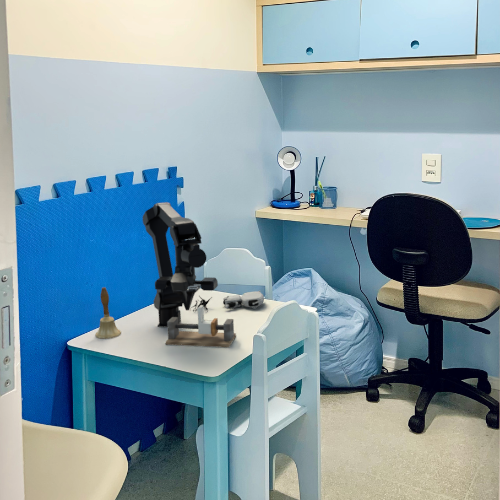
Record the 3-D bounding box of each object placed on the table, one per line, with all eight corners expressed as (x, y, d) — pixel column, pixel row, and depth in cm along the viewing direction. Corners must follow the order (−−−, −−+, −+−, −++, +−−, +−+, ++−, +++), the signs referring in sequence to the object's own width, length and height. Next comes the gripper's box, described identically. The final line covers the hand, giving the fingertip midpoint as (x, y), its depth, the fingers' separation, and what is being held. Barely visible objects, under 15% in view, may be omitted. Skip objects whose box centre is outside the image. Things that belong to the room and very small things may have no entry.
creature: (203, 318, 229) (216, 307, 235) (200, 304, 227) (213, 294, 233) (186, 314, 233) (199, 304, 239) (183, 301, 231) (196, 291, 237)
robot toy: (224, 315, 231) (266, 309, 232) (223, 302, 230) (264, 297, 231) (223, 305, 243) (262, 300, 244) (222, 293, 242) (261, 288, 243)
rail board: (165, 344, 200) (164, 324, 199) (175, 333, 210) (174, 314, 208) (228, 347, 196) (227, 326, 195) (235, 336, 206) (235, 316, 204)
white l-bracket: (198, 333, 201) (197, 308, 199) (201, 329, 204) (200, 305, 203) (211, 334, 200) (209, 308, 198) (213, 330, 203) (212, 305, 202)
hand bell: (113, 339, 206) (109, 291, 203) (90, 338, 209) (86, 290, 205) (125, 331, 214) (122, 284, 211) (103, 329, 216) (99, 283, 213)
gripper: (147, 267, 193) (150, 317, 196) (207, 268, 189) (210, 319, 192) (159, 258, 203) (162, 306, 206) (217, 259, 200) (219, 308, 203)
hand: (187, 310), depth 202 cm, fingers closed
